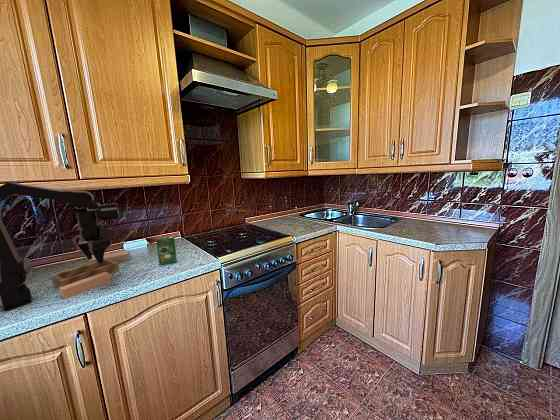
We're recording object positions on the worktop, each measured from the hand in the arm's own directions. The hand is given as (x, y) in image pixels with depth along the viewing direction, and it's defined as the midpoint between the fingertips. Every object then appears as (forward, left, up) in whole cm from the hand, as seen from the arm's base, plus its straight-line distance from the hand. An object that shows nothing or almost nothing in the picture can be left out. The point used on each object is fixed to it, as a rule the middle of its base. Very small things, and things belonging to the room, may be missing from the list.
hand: (95, 261), depth 93 cm
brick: (+15, +24, -10) cm, 30 cm away
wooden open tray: (+1, +13, -10) cm, 16 cm away
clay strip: (-4, 0, -10) cm, 11 cm away
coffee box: (+27, -6, -10) cm, 29 cm away
